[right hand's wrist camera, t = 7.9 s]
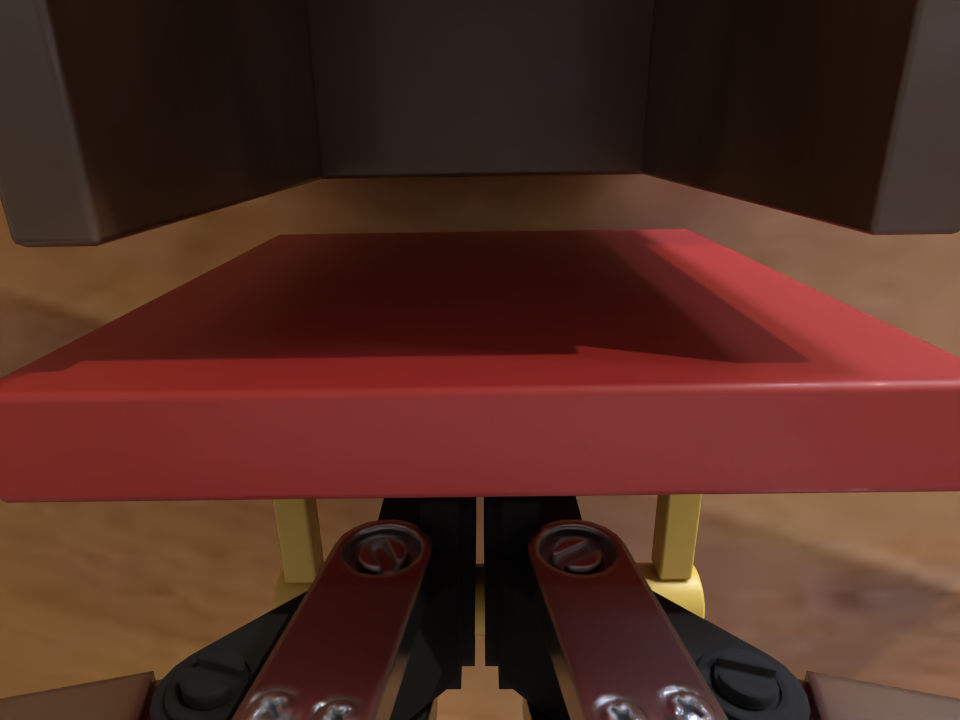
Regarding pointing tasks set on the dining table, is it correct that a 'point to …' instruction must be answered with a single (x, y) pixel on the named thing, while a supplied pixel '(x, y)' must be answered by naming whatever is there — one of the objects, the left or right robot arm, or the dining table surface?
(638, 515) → the dining table surface
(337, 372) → the drawer
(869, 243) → the dining table surface
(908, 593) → the dining table surface
